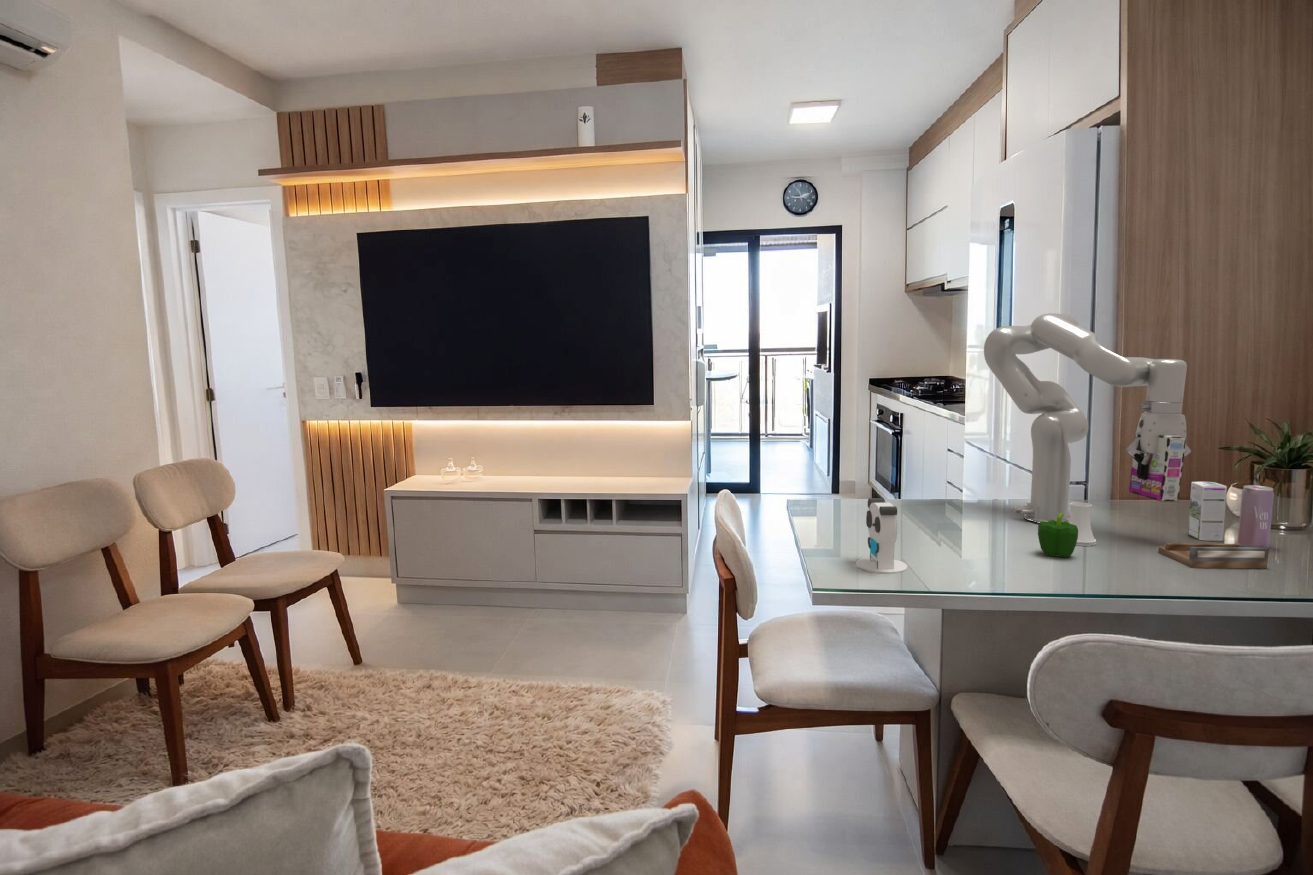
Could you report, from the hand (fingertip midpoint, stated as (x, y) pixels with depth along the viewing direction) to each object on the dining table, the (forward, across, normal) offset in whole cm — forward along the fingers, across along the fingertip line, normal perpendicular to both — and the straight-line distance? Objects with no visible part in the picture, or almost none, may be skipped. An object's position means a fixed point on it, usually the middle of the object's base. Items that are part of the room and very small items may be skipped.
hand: (1155, 478), depth 178 cm
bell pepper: (+17, -29, -14) cm, 37 cm away
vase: (+17, -18, -2) cm, 25 cm away
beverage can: (+16, +22, -5) cm, 27 cm away
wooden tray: (+16, +4, -17) cm, 24 cm away
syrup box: (+16, +16, +3) cm, 23 cm away
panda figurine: (+17, -73, -24) cm, 79 cm away
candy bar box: (+5, 0, 0) cm, 5 cm away
